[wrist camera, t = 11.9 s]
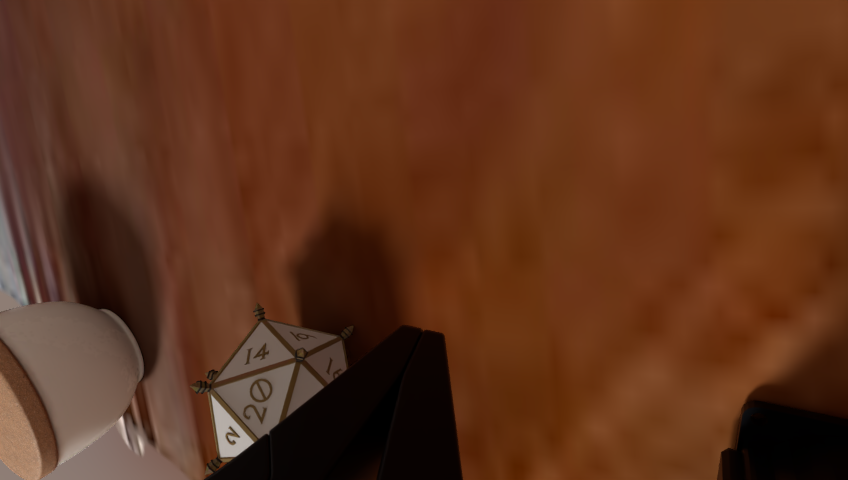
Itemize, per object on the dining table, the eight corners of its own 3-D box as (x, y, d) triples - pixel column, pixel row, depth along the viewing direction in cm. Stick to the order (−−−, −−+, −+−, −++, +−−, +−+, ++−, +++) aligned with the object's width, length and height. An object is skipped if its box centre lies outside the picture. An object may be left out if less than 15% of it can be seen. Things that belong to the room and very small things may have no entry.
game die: (349, 305, 31) (203, 262, 24) (435, 369, 25) (273, 337, 18) (290, 428, 31) (125, 421, 24) (361, 522, 25) (169, 550, 18)
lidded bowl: (74, 251, 40) (-109, 304, 31) (171, 338, 37) (-5, 426, 28) (77, 352, 46) (-76, 421, 37) (160, 435, 43) (13, 533, 34)
